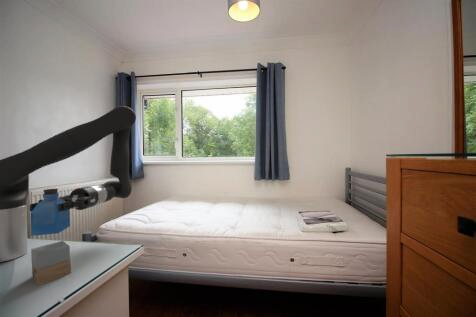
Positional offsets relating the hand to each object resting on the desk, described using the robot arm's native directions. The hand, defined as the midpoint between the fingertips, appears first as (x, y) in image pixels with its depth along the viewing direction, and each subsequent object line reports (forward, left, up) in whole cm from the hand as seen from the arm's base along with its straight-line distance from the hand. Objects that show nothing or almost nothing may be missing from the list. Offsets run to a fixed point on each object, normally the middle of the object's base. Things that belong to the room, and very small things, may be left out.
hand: (45, 208), depth 58 cm
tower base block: (-1, +1, -20) cm, 20 cm away
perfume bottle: (-1, +2, -7) cm, 8 cm away
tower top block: (-1, +1, -16) cm, 16 cm away
